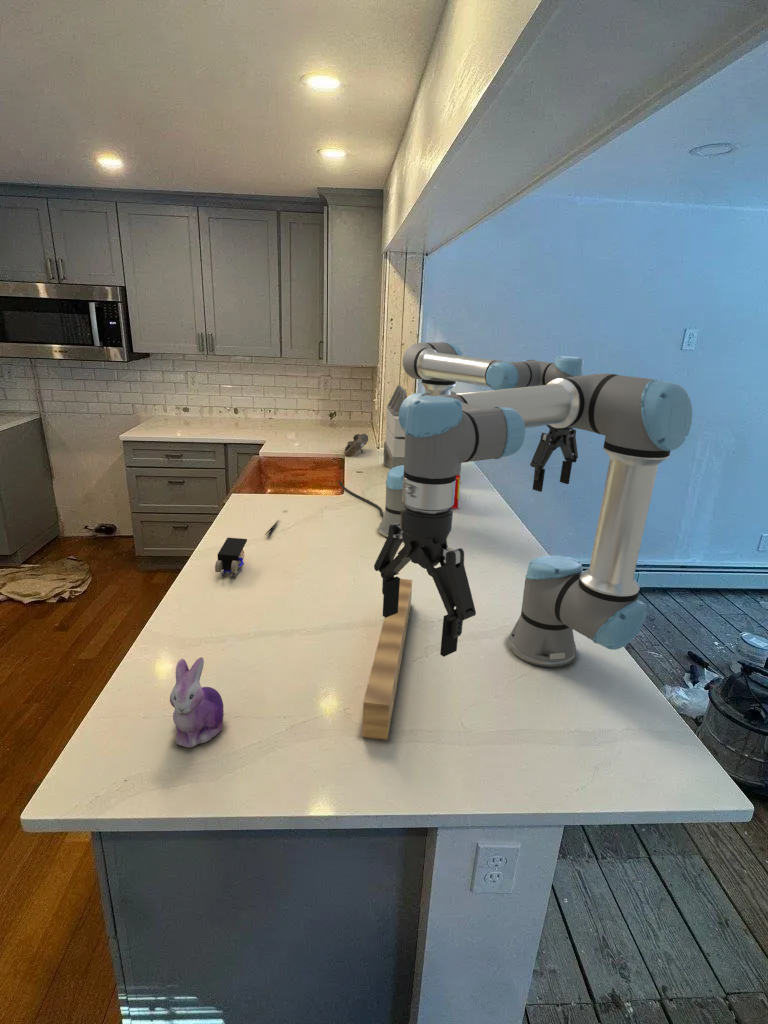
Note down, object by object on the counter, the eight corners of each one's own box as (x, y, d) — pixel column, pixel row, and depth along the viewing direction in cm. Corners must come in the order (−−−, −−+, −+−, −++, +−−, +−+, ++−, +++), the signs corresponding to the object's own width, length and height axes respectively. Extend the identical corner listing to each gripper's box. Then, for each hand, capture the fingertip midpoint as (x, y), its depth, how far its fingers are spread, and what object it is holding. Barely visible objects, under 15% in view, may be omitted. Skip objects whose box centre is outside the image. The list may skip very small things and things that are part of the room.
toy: (452, 466, 252) (464, 476, 223) (451, 496, 255) (462, 509, 226) (425, 465, 252) (433, 475, 222) (424, 495, 254) (431, 508, 225)
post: (393, 604, 152) (394, 578, 150) (410, 605, 152) (412, 579, 149) (362, 737, 105) (363, 702, 102) (387, 740, 104) (389, 705, 102)
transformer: (382, 463, 289) (386, 382, 275) (445, 464, 293) (451, 384, 279) (390, 482, 257) (394, 392, 243) (460, 483, 261) (468, 394, 247)
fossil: (344, 439, 317) (365, 424, 312) (355, 453, 320) (376, 438, 315) (338, 453, 298) (360, 437, 293) (349, 467, 300) (371, 451, 295)
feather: (285, 514, 217) (288, 510, 216) (267, 540, 190) (270, 535, 190) (282, 511, 216) (284, 507, 216) (262, 537, 190) (265, 532, 189)
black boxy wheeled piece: (238, 584, 162) (249, 557, 175) (236, 562, 158) (247, 536, 172) (215, 584, 161) (227, 556, 175) (212, 561, 158) (225, 535, 171)
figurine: (177, 757, 98) (169, 685, 93) (168, 720, 106) (161, 652, 101) (232, 741, 102) (228, 671, 97) (219, 707, 111) (215, 640, 105)
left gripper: (547, 420, 148) (536, 497, 155) (597, 412, 163) (585, 483, 170) (523, 415, 153) (514, 490, 160) (574, 408, 169) (563, 477, 176)
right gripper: (355, 487, 89) (351, 606, 96) (473, 538, 71) (458, 680, 78) (392, 480, 93) (386, 594, 101) (512, 526, 75) (494, 662, 83)
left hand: (551, 486), depth 165 cm, fingers open, 13 cm apart
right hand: (417, 632), depth 89 cm, fingers open, 13 cm apart
